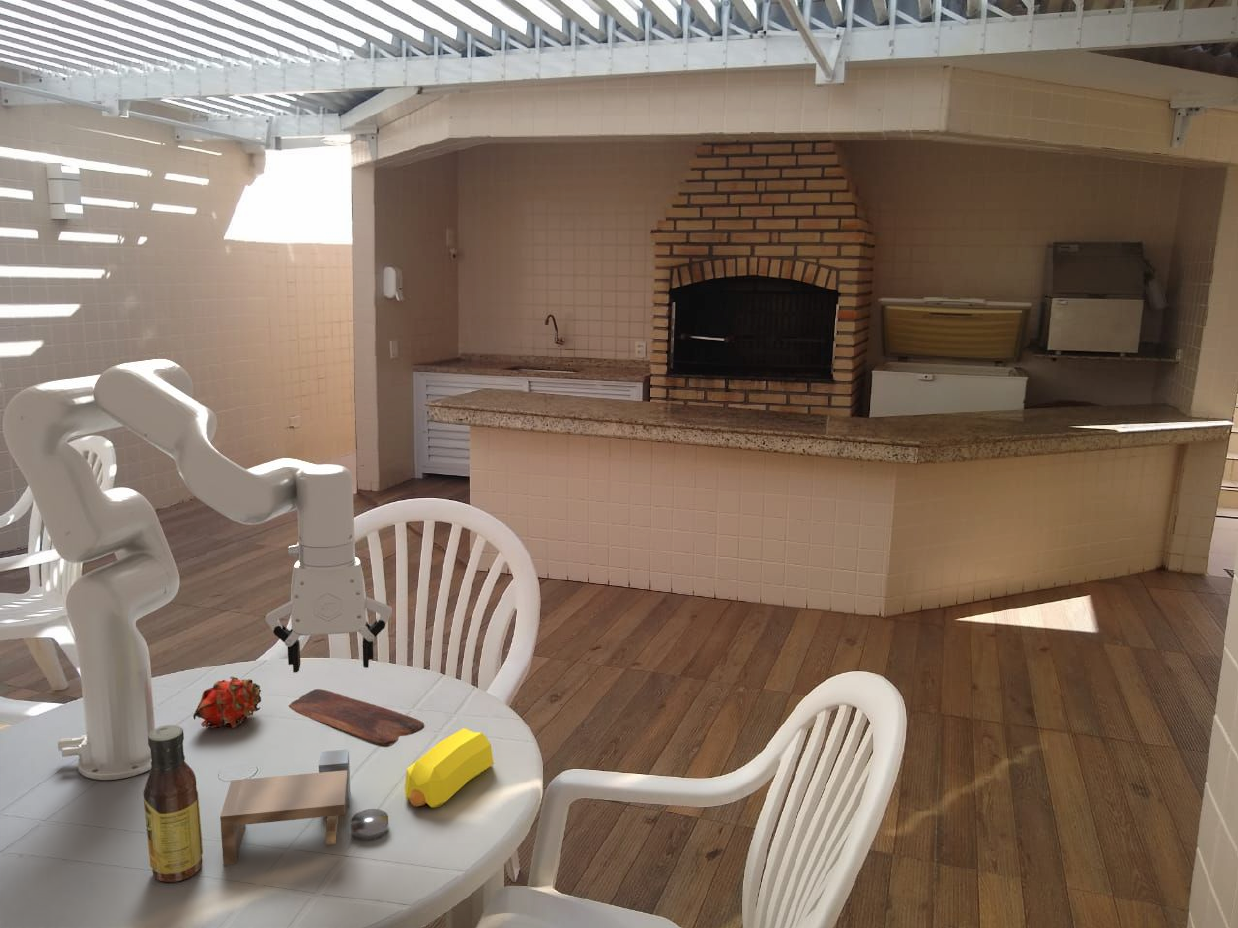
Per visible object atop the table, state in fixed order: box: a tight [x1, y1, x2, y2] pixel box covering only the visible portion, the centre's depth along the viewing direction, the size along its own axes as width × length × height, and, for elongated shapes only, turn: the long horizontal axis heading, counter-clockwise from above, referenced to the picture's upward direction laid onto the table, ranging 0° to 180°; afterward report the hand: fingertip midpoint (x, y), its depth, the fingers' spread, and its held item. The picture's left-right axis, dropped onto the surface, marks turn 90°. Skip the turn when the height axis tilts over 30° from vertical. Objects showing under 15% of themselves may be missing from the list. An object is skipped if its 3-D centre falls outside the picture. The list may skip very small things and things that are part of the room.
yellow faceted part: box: [404, 727, 494, 808], centre depth 147 cm, size 18×7×8 cm
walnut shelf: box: [219, 770, 348, 866], centre depth 132 cm, size 16×9×7 cm, turn 103°
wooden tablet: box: [288, 688, 425, 747], centre depth 168 cm, size 26×2×10 cm
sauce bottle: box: [142, 724, 204, 883], centre depth 123 cm, size 6×6×20 cm
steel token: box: [350, 808, 389, 842], centre depth 135 cm, size 5×5×2 cm
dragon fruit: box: [193, 676, 262, 729], centre depth 164 cm, size 8×8×12 cm
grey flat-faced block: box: [318, 749, 351, 846], centre depth 137 cm, size 4×13×7 cm, turn 13°
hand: (331, 666), depth 140 cm, fingers open, 9 cm apart
